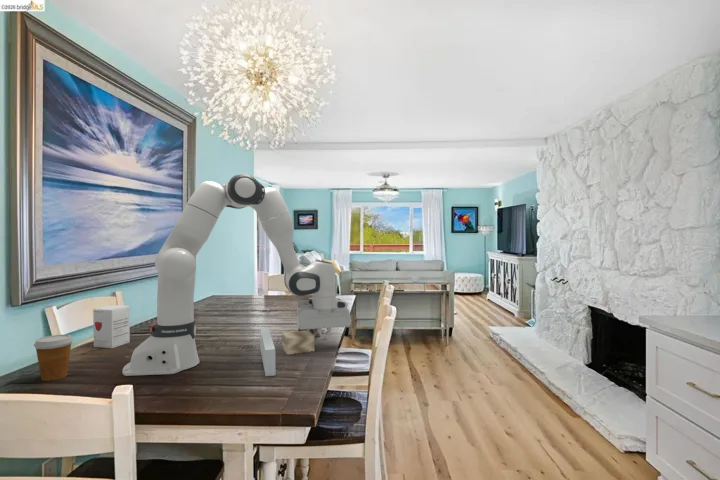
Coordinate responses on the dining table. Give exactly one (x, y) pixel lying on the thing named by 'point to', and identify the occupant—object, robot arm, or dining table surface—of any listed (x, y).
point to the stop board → (267, 352)
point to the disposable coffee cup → (53, 356)
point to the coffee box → (307, 301)
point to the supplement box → (111, 326)
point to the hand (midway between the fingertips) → (324, 339)
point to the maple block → (297, 342)
